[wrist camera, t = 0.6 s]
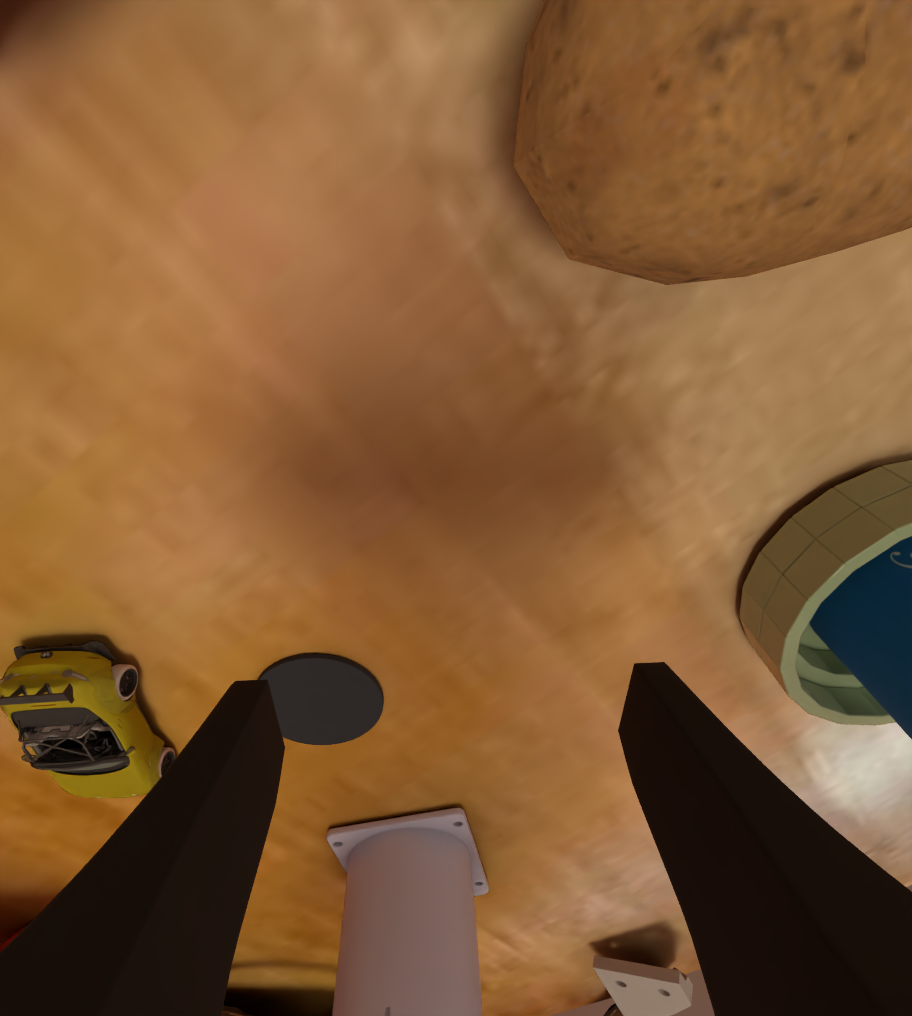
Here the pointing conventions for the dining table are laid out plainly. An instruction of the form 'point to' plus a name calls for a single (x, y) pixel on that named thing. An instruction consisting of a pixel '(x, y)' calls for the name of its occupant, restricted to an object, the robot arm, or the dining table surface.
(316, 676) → the coaster
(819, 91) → the potato
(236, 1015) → the shoulder bag
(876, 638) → the beverage can
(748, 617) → the green bowl
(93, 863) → the robot arm
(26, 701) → the toy car
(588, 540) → the dining table surface
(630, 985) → the bracket
